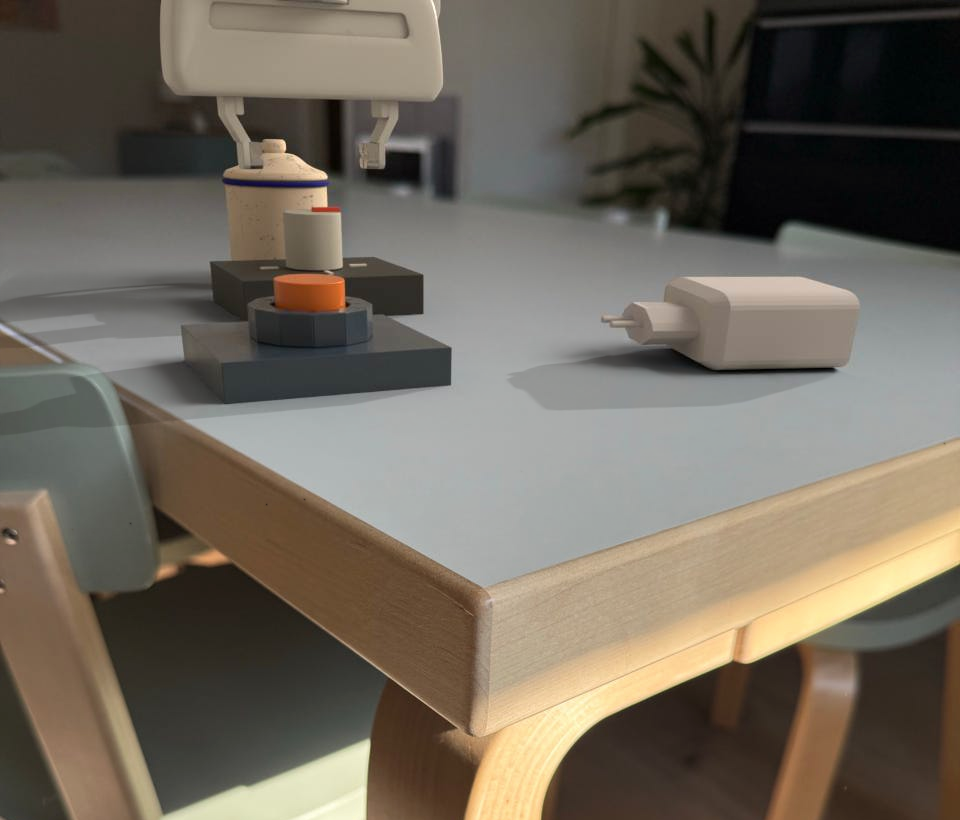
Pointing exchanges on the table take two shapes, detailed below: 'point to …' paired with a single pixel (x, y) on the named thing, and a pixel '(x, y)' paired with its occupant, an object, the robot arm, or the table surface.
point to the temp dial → (313, 238)
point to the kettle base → (363, 275)
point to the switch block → (312, 353)
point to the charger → (748, 322)
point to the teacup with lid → (269, 201)
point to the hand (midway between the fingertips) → (313, 169)
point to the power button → (309, 292)
